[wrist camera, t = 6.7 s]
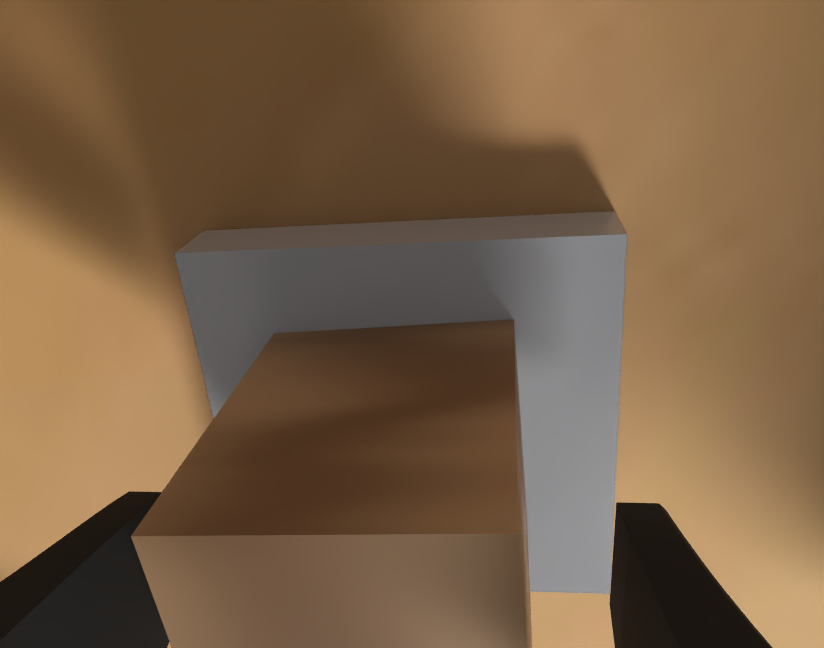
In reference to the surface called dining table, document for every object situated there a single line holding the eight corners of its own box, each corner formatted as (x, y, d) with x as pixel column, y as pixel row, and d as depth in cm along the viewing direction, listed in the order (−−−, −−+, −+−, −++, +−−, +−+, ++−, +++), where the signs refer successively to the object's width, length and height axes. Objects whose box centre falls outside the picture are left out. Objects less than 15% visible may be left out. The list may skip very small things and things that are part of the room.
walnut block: (514, 319, 12) (518, 533, 7) (527, 518, 14) (538, 797, 9) (273, 333, 13) (130, 536, 8) (316, 520, 15) (221, 780, 10)
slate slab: (610, 202, 13) (627, 234, 11) (598, 529, 17) (609, 594, 15) (215, 222, 14) (173, 253, 13) (278, 523, 18) (252, 582, 16)
